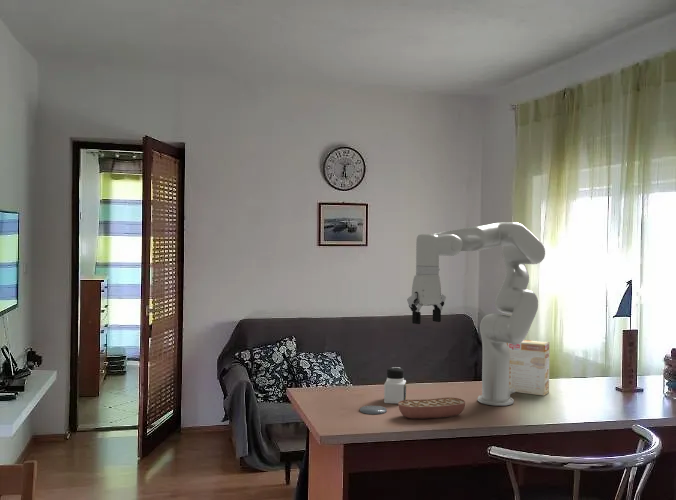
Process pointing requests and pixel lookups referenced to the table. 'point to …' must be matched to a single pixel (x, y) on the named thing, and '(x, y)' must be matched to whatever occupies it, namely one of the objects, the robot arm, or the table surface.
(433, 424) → the table surface
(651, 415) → the table surface
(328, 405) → the table surface
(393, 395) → the medicine bottle
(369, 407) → the coaster
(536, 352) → the coffeecake box
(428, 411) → the oval dish
